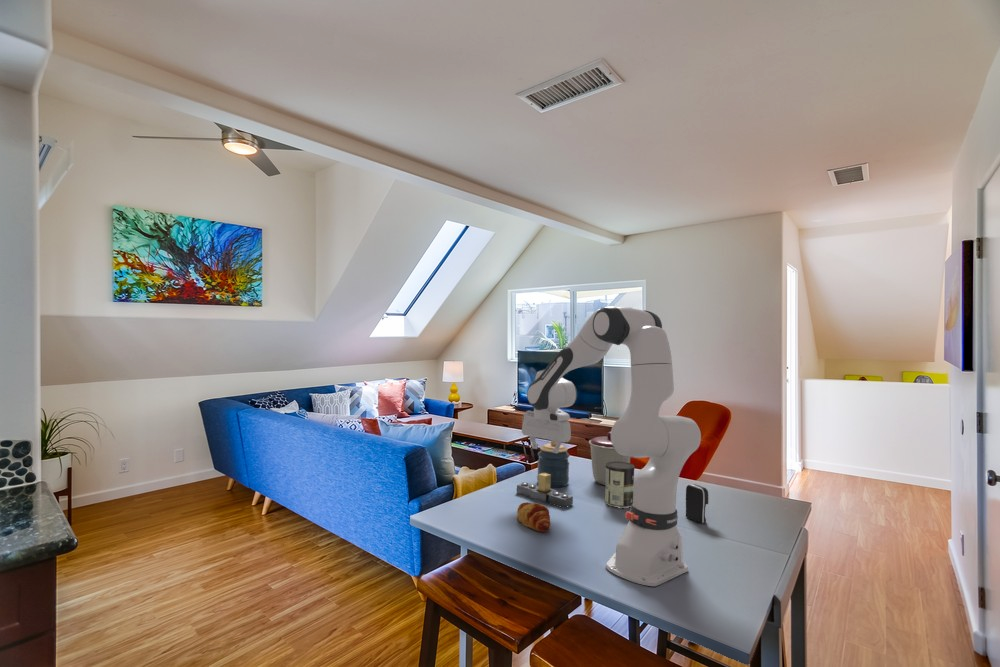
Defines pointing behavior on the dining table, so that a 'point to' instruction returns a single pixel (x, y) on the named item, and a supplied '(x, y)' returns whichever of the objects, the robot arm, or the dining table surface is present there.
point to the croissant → (534, 516)
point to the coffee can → (619, 484)
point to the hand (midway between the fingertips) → (545, 450)
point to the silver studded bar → (544, 495)
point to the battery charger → (696, 502)
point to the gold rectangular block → (544, 482)
